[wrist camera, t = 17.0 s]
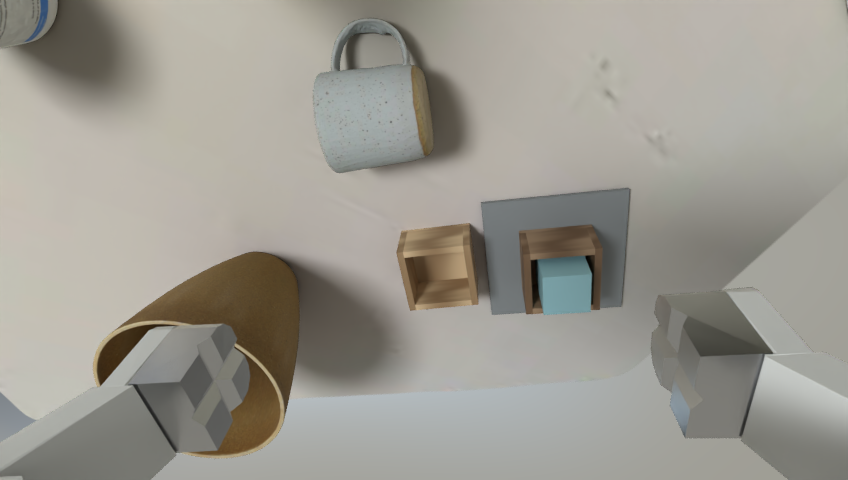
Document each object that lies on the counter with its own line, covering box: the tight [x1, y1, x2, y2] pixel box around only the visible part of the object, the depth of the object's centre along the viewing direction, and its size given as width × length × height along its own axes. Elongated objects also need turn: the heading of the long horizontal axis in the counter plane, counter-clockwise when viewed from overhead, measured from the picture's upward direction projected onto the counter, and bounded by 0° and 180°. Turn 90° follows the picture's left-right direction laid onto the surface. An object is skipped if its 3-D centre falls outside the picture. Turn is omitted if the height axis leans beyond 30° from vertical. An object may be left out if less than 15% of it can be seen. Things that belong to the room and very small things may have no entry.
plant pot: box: [93, 252, 299, 458], centre depth 44 cm, size 15×15×16 cm
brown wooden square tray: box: [519, 224, 603, 314], centre depth 44 cm, size 7×7×4 cm
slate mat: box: [481, 188, 630, 315], centre depth 46 cm, size 13×13×1 cm
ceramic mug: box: [313, 18, 434, 173], centre depth 36 cm, size 11×8×8 cm
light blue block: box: [535, 256, 592, 315], centre depth 43 cm, size 4×4×6 cm
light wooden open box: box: [397, 223, 478, 310], centre depth 46 cm, size 7×7×4 cm
